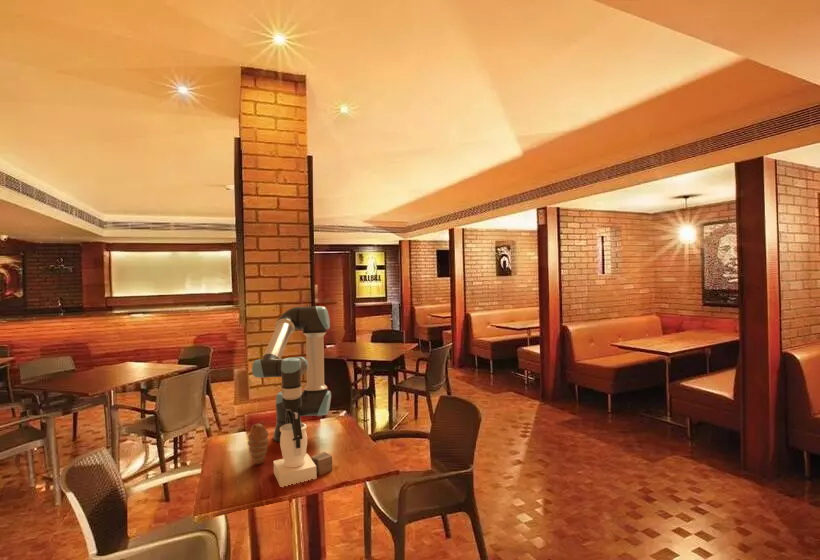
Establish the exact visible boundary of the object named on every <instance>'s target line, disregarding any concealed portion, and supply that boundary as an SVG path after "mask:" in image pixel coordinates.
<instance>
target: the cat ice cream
mask: <svg viewBox="0 0 820 560" xmlns="http://www.w3.org/2000/svg"><path fill="white" fill-rule="evenodd" d="M265 427H266V426H264V420H262V421H260V422H259V423H255V424H252V425H251V427H250V431H249V435H248V441H247V444H248V447H249V452H250V455H251V457H252V460H253V463H254V464H255V465H260V464H263V462H264V460H265V456H266V455H267V450H268V443H269V438H268V437H269V431H268V430H267V429H266V428H265Z"/></svg>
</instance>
